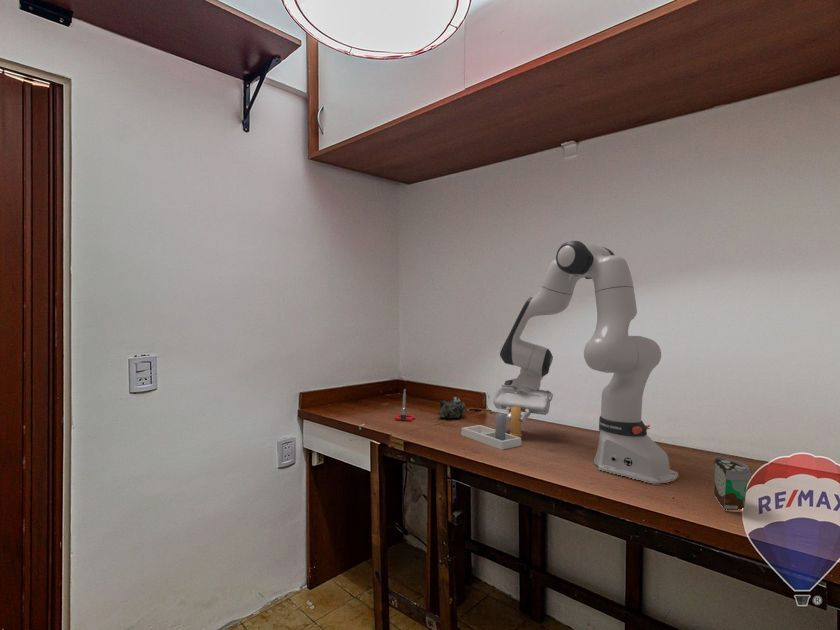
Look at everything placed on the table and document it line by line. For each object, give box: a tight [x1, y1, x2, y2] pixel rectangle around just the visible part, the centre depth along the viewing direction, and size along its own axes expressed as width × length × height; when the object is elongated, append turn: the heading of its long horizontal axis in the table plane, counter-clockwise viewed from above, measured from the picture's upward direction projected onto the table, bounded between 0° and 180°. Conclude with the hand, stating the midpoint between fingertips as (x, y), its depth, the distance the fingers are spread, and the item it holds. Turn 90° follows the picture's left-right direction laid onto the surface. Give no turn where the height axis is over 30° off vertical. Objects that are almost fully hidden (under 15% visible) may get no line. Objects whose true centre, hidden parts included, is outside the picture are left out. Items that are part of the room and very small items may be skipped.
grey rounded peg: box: [495, 412, 507, 441], centre depth 151 cm, size 4×4×10 cm
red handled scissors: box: [394, 388, 416, 422], centre depth 187 cm, size 8×13×9 cm
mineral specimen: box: [436, 396, 467, 420], centre depth 193 cm, size 15×13×10 cm
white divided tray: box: [461, 424, 522, 451], centre depth 154 cm, size 20×9×4 cm, turn 35°
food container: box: [713, 455, 752, 510], centre depth 107 cm, size 12×6×10 cm, turn 158°
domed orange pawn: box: [509, 406, 523, 438], centre depth 157 cm, size 4×4×10 cm
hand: (515, 420), depth 157 cm, fingers closed on domed orange pawn, 3 cm apart
